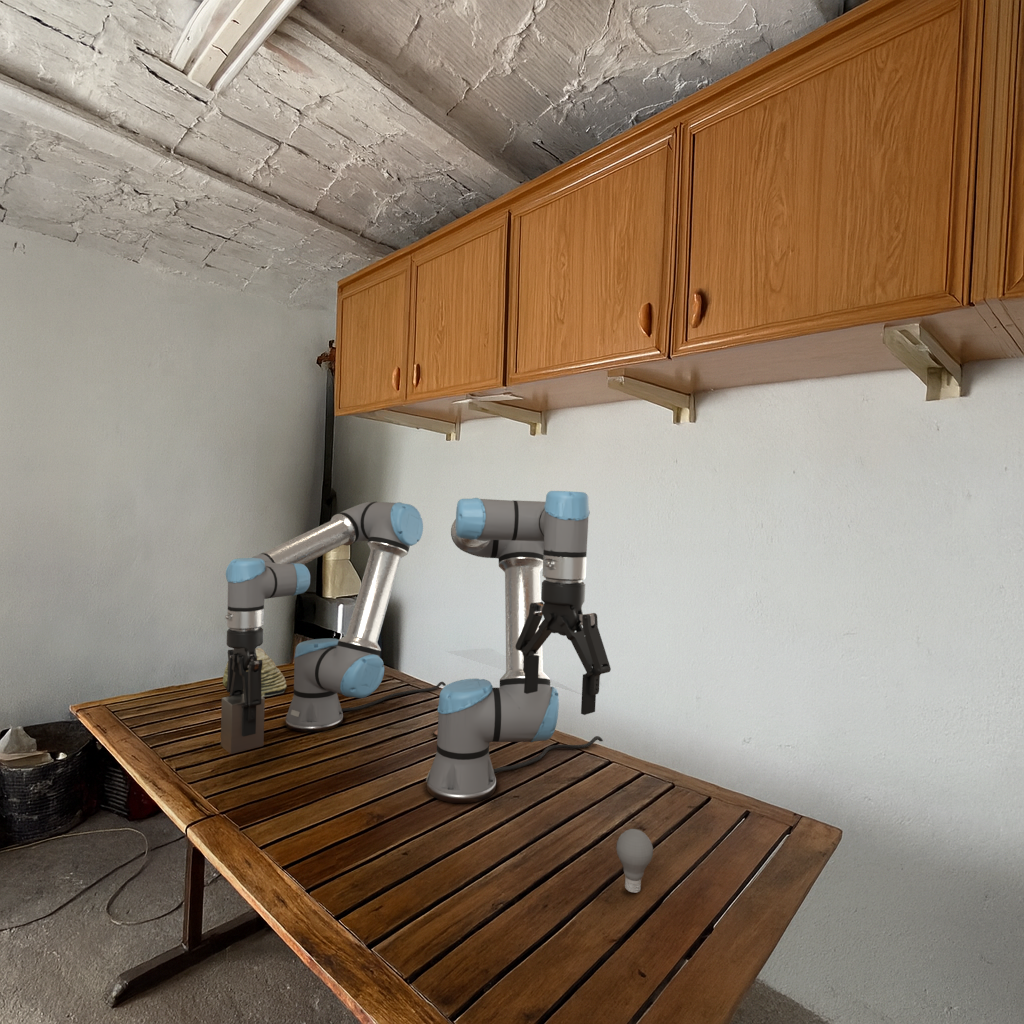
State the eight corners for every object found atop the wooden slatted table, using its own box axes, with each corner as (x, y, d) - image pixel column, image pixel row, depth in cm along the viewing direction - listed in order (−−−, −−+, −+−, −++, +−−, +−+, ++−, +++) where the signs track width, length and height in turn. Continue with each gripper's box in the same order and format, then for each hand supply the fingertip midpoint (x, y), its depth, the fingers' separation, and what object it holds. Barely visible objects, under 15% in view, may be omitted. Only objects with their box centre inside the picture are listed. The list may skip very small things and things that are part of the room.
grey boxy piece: (220, 745, 142) (221, 697, 141) (252, 737, 147) (254, 691, 146) (230, 754, 137) (231, 704, 137) (263, 745, 142) (264, 698, 142)
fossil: (218, 695, 195) (220, 647, 195) (278, 685, 208) (279, 640, 207) (228, 703, 189) (230, 653, 188) (289, 692, 201) (290, 645, 201)
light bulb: (610, 879, 108) (613, 822, 108) (644, 879, 109) (647, 822, 109) (619, 902, 102) (622, 840, 102) (655, 901, 103) (658, 840, 103)
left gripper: (212, 622, 146) (210, 721, 146) (245, 638, 132) (242, 747, 133) (245, 618, 151) (243, 714, 151) (280, 633, 137) (277, 738, 138)
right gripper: (499, 572, 116) (494, 687, 117) (606, 591, 98) (600, 727, 98) (529, 571, 121) (524, 681, 122) (635, 588, 103) (629, 717, 103)
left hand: (242, 730), depth 142 cm, fingers closed on grey boxy piece, 6 cm apart
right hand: (558, 702), depth 110 cm, fingers open, 13 cm apart
